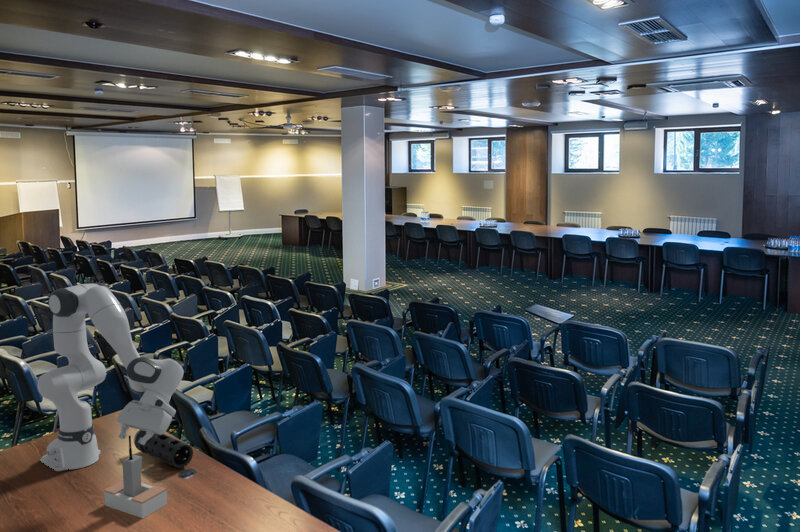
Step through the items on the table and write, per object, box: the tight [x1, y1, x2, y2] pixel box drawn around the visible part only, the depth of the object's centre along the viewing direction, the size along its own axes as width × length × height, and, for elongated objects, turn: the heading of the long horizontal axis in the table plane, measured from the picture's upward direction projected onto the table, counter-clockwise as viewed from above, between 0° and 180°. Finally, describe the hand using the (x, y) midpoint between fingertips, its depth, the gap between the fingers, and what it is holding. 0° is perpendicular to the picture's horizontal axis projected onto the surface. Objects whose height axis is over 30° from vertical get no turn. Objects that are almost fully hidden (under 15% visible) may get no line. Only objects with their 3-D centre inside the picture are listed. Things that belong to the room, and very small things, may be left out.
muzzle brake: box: [133, 429, 194, 470], centre depth 242 cm, size 10×28×10 cm, turn 53°
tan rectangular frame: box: [103, 480, 168, 519], centre depth 208 cm, size 18×10×6 cm, turn 64°
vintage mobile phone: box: [122, 435, 143, 498], centre depth 206 cm, size 4×5×25 cm
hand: (130, 441), depth 205 cm, fingers open, 8 cm apart
